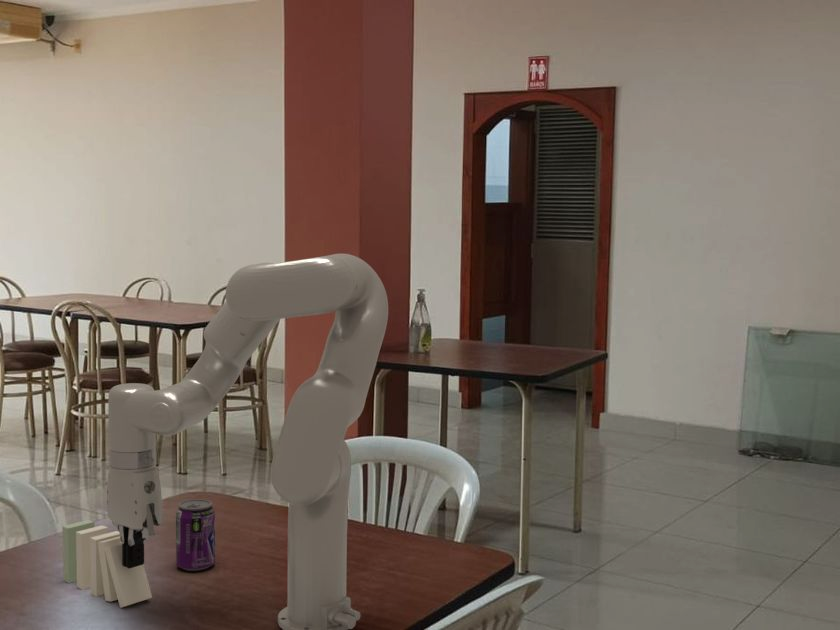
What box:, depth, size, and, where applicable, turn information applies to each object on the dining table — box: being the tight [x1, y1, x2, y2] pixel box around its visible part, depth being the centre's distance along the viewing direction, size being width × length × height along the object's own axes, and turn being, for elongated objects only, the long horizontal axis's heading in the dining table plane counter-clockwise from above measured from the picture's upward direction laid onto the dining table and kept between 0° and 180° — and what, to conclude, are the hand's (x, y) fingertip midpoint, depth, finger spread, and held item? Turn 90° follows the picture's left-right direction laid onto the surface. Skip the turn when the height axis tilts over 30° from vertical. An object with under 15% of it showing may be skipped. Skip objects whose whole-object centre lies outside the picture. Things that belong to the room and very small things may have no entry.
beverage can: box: [175, 498, 216, 572], centre depth 190 cm, size 7×7×12 cm
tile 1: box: [105, 544, 153, 609], centre depth 173 cm, size 2×5×10 cm, turn 139°
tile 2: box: [98, 537, 122, 602], centre depth 176 cm, size 2×5×10 cm, turn 139°
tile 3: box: [90, 530, 120, 598], centre depth 178 cm, size 2×5×10 cm, turn 139°
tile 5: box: [61, 519, 95, 584], centre depth 184 cm, size 2×5×10 cm, turn 139°
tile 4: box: [76, 525, 109, 591], centre depth 181 cm, size 2×5×10 cm, turn 139°
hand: (133, 565), depth 172 cm, fingers closed
